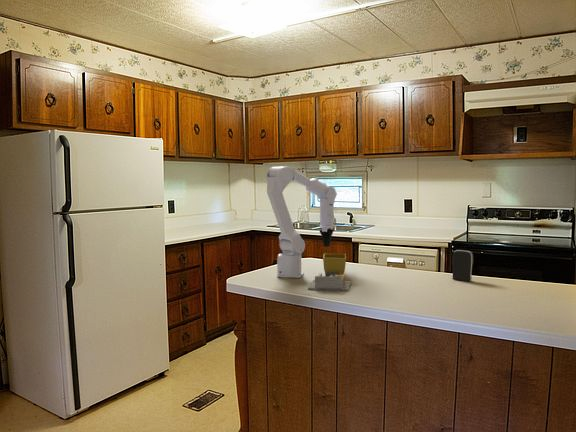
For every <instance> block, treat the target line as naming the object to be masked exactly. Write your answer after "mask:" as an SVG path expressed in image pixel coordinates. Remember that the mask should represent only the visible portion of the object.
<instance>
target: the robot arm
mask: <svg viewBox="0 0 576 432" xmlns="http://www.w3.org/2000/svg"><path fill="white" fill-rule="evenodd" d="M265 179H266V192H267V196H268V199H269V203H270V205H271V207H272V208H271V209H272V210H273V213H274V217H275V219H276V221H277V222H276V223H277V225H278V229H279V231H280V234H279V235H278V240H279V248H280V250H281V251H282V253H278V254H277V259H276V261H277V263H276V265H277V266H276V267H277V269H276V271H277V275H276V277H278V278H296V279H297V278H298V279H300V278H301V277H303V275H304V274H305V273H304V272H303V271H302V255H303V252H304V251H305V249H306V243H305V240H304V239H303V238H302V237H301V234H300V232H298V231H297V229H295V227H294V224H293V221H292V218H291V215H290V212H289V209H288V206H287V204H286V200H285V197H284V194H283V192H284V191H285V189H286V188H287V187H288V186H289V184H291V182H292V181H293V182H295V183H297V184H300V185H302V186H304V187H305V189H306V191H307V192H309V193H311V194H313V195H315V196H317V199H318V200H319V227H320V229H319V234H320V235H321V238H322V244H323V247H324V248H330V246H331V241H332V240H331V239H332V236H333V233H334V232H335V230H334V229H333V228H337V224H334V220H335V218H334V215H335V214H334V213H335V212H334V208H335V207H334V205H335V199H336V198H337V194H338V192H336V189H335V187H333V186H330V185H327V182H321V181H320V180H319V178H318V177H314V178H309V177H307V176H306V175H304V174H302V173H300V172H299V171H297V170H296V169H295V168H293V167H291V166H289V165H285V166H271V167H270V168H269V169H268V170H267V173H266V174H265Z"/></svg>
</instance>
